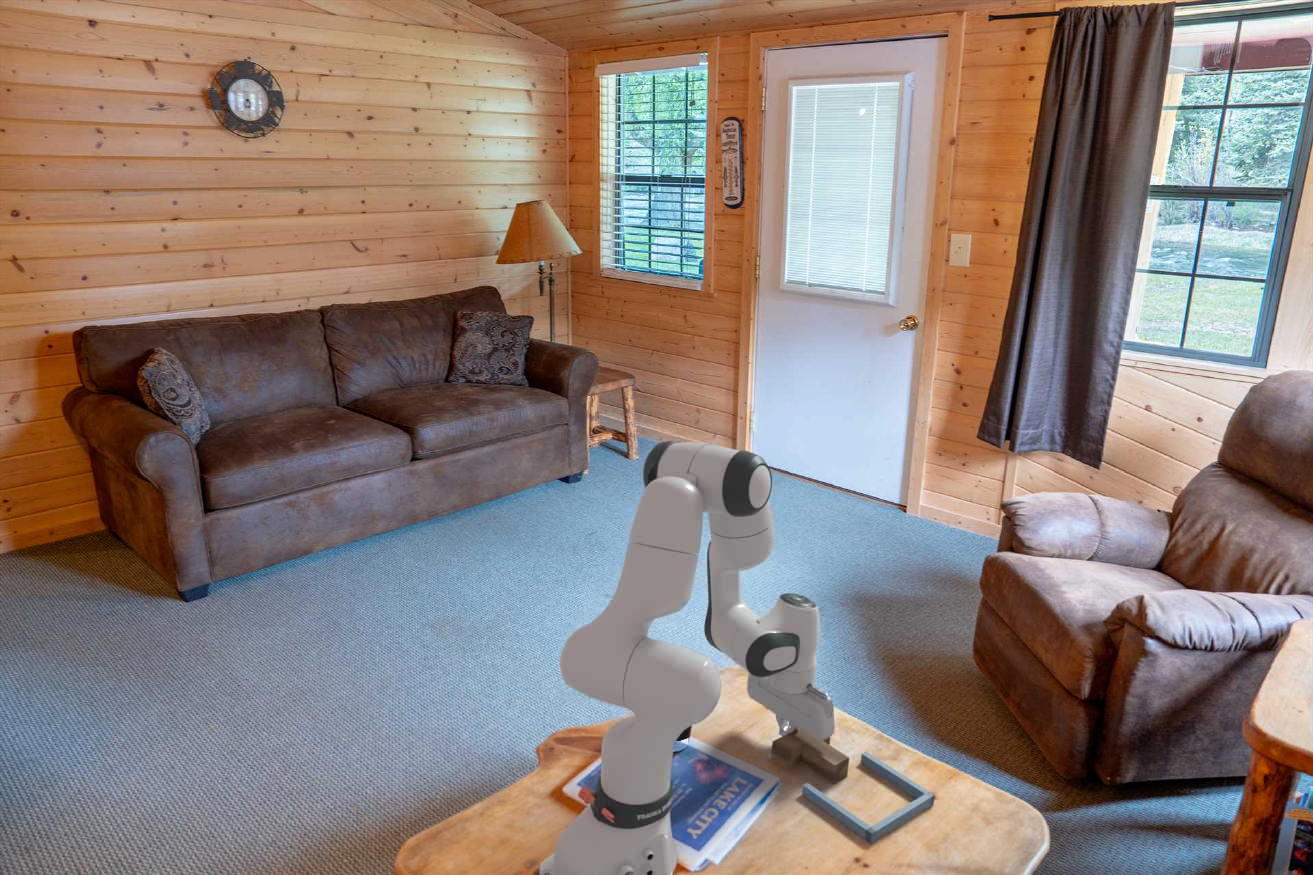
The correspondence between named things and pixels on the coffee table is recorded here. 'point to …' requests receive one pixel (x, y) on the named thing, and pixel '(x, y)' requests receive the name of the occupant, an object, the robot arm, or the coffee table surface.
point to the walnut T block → (810, 755)
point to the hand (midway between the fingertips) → (787, 736)
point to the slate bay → (889, 823)
